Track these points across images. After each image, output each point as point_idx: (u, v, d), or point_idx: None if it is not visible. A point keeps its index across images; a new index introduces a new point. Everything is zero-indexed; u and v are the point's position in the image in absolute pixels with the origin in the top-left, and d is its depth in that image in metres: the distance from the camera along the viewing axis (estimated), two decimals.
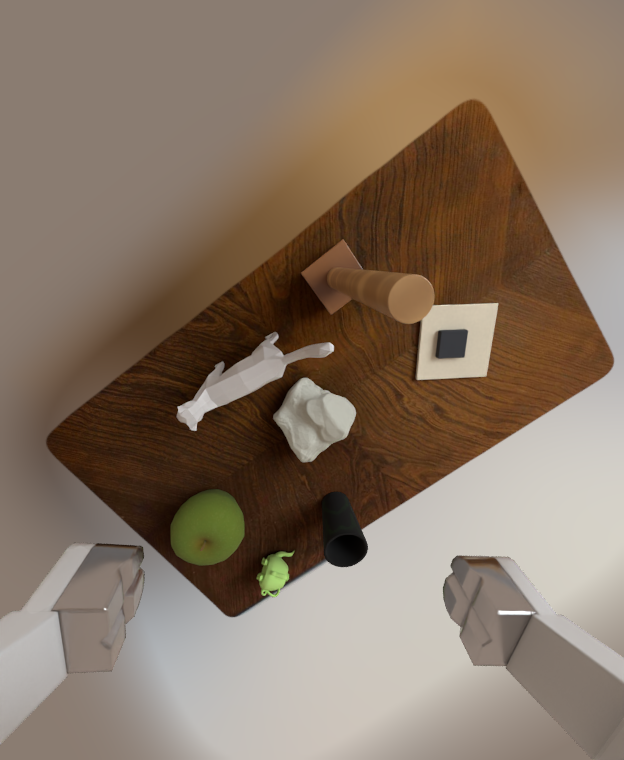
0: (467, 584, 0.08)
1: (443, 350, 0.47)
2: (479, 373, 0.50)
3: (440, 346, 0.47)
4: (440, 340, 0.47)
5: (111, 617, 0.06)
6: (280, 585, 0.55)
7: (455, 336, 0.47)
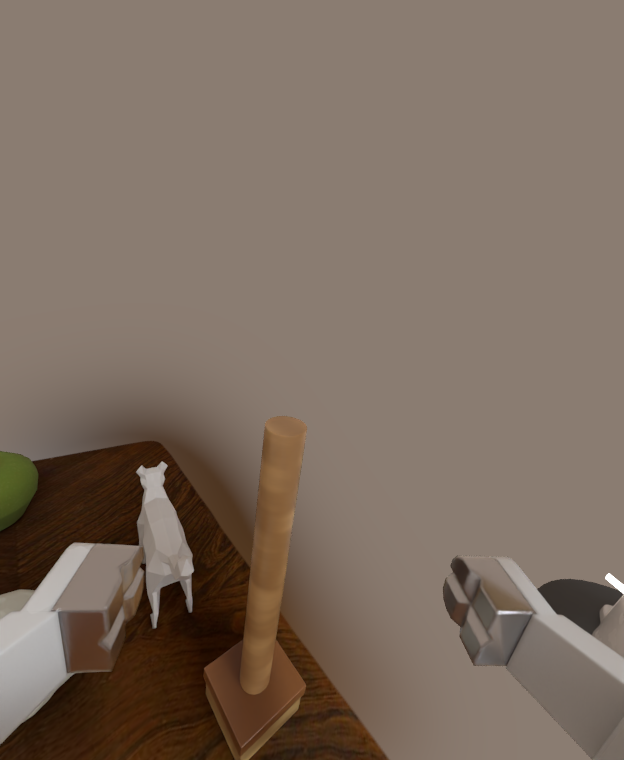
0: (467, 584, 0.08)
1: None
2: None
3: None
4: None
5: (110, 617, 0.06)
6: None
7: None
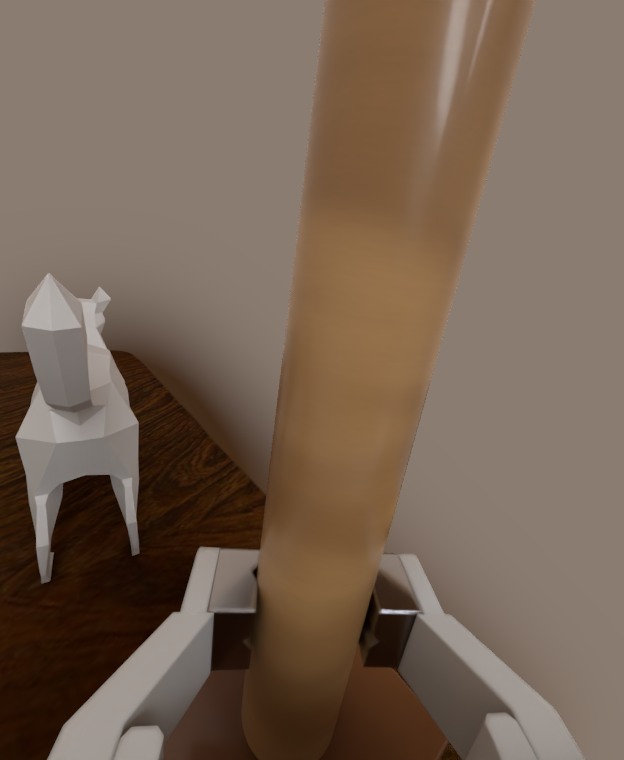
0: None
1: None
2: None
3: None
4: None
5: None
6: None
7: None
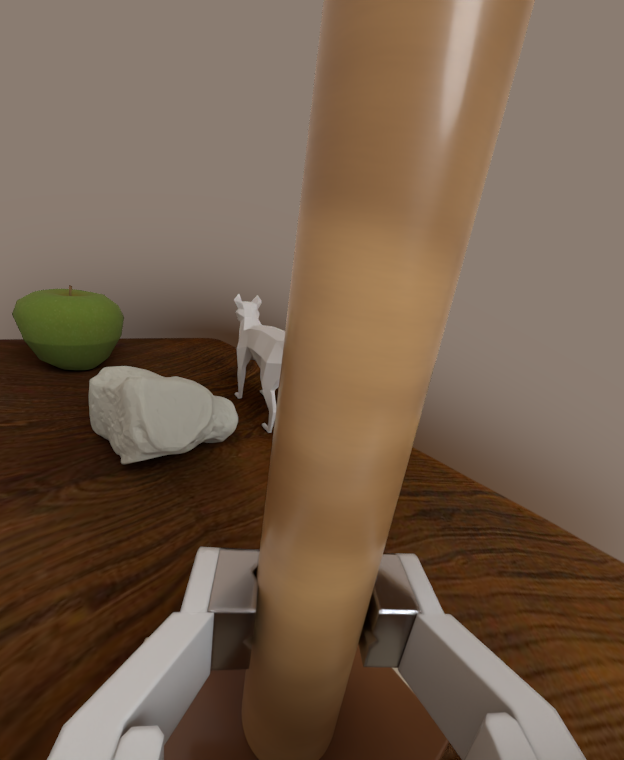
0: None
1: None
2: None
3: None
4: None
5: None
6: None
7: None
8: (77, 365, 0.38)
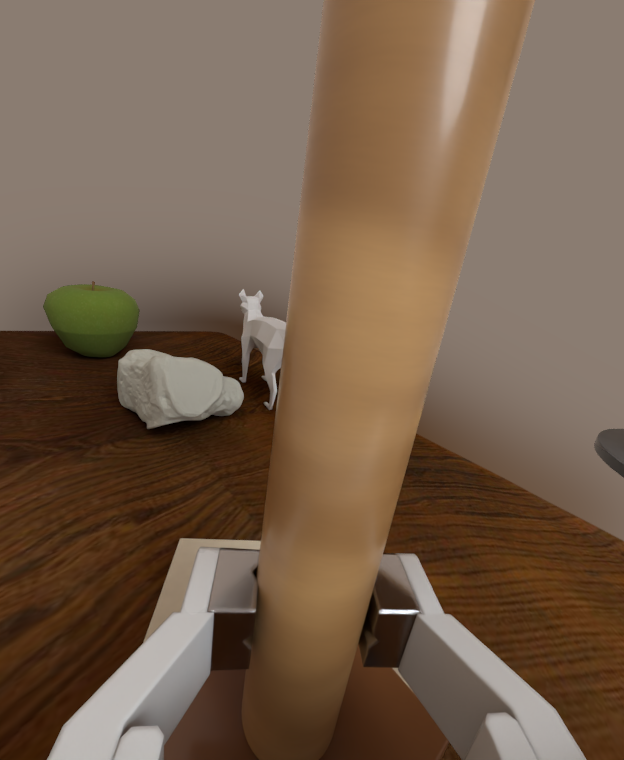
0: None
1: None
2: None
3: None
4: None
5: None
6: None
7: None
8: (99, 352, 0.43)
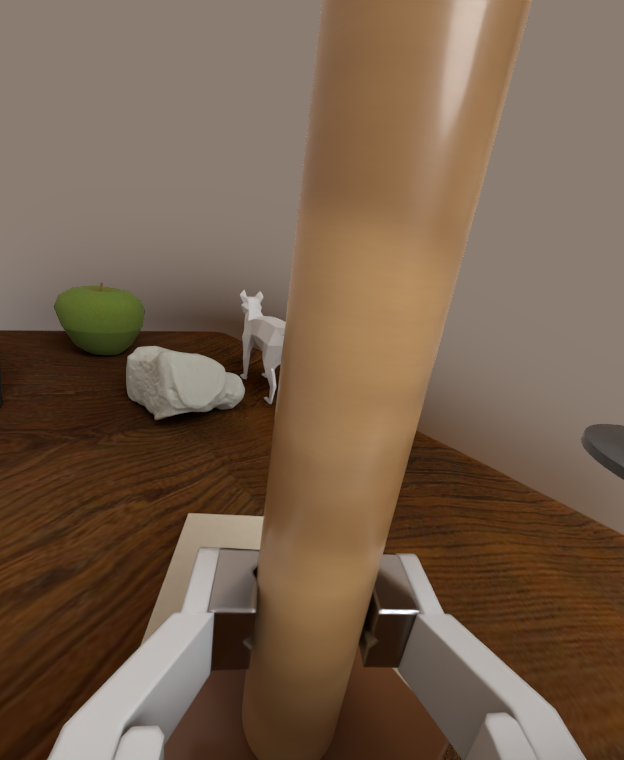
0: None
1: None
2: None
3: None
4: None
5: (255, 617, 0.07)
6: None
7: None
8: (107, 350, 0.45)
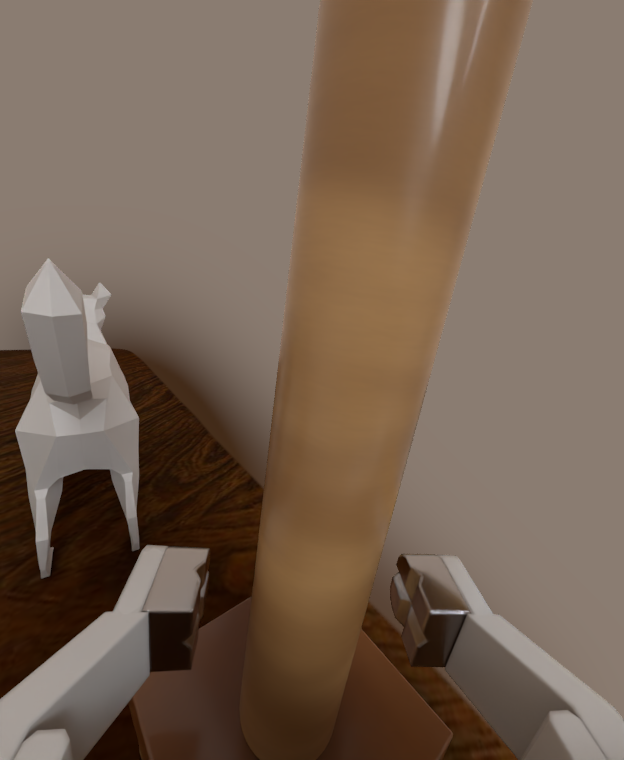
0: (408, 583, 0.08)
1: None
2: None
3: None
4: None
5: (194, 617, 0.07)
6: None
7: None
8: None
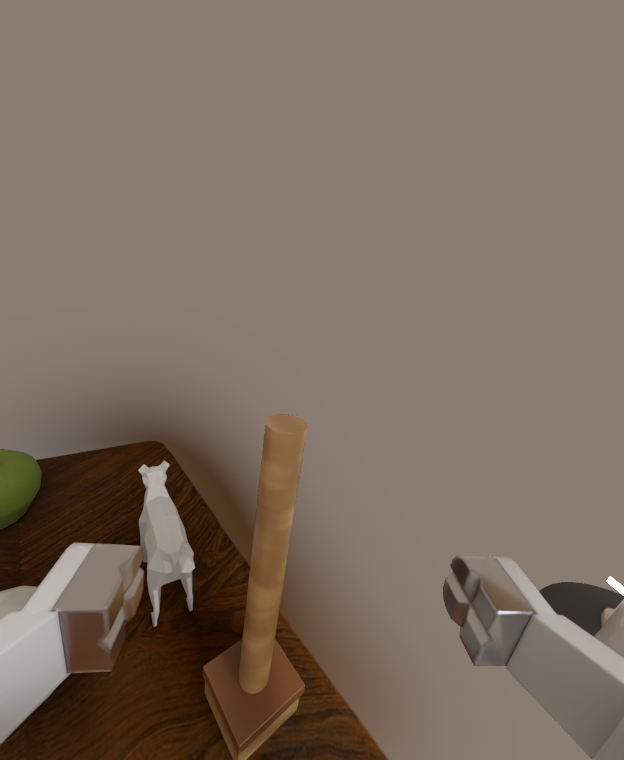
0: (467, 584, 0.08)
1: None
2: None
3: None
4: None
5: (110, 617, 0.06)
6: None
7: None
8: None
